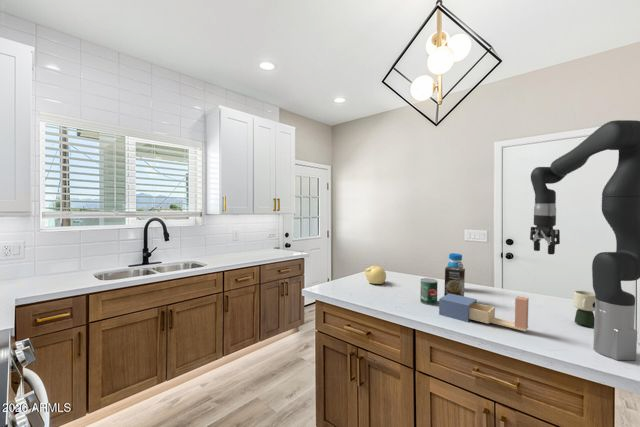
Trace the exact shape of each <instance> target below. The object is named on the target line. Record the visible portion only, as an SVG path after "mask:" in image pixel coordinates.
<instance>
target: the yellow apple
mask: <svg viewBox="0 0 640 427" xmlns="http://www.w3.org/2000/svg"><path fill="white" fill-rule="evenodd" d="M364 275H365V277H366V279H367V282H368V283H370V284H375V285H382V284H385V281H386V279H387V273H386V271H385V269H384V268H382V267H381V266H380V265H371V266H370V267H368V268H366V269H364Z"/></svg>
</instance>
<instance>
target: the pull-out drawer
mask: <svg viewBox="0 0 640 427" xmlns="http://www.w3.org/2000/svg"><path fill="white" fill-rule="evenodd" d="M529 298H530V297H527V296H526V297H525V296H519V295H517V296H516V297H515V300H514V301H515V302H514V304H515V305H514V306H515V308H514V309H515V310H514V321H510V320H506V319H501V318H497V317H495V316H496V313H495V312H496V307H495V306H490V305H485V304H481V303H478V302H477V303H473V304H472V305H471V306H469V319H471V320H473V321H476V322H481V323H485V324H488V325H489V324H490V323H491V324H495V325H499V326H503V327H507V328H511V329H515V330H519V331H522V332H527V330H528V328H529Z"/></svg>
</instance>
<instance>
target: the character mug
mask: <svg viewBox="0 0 640 427" xmlns="http://www.w3.org/2000/svg"><path fill="white" fill-rule="evenodd" d="M573 307H574V308H576V310H575V311H576V312H575V317H574V322H575V323H576V324H580V325H582V326H584V327H585V326H586V327H589V328H590V327H591V328H594V318H595V292H591V291H586V290H575V291H573Z"/></svg>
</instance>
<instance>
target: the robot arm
mask: <svg viewBox="0 0 640 427" xmlns="http://www.w3.org/2000/svg"><path fill="white" fill-rule="evenodd" d="M607 150H609V151H618V160H617V166H616V169H615V170H614V172H613V173H612V174H611V176H610V178H609V179H608V181H607V182H606V184H605V185H604V187H603V189H602V193H601V212H602V215H603V217H604V219H605V221H606V223H607V224H608V225H609V227H610V228H611V229H612V231H613V233H614V235H615V241H616V242H615V244H616V249H615V251H605V252H604V251H602V252H599V253H597V254H596V255H595V256H594V257H593V259H592V265H591V272H592V289H593V291H594V292H593V293H595V311H594V327H593V346H592V347H593V350H594V351H595V352H597V353H598V354H600V355H603V356H604V357H605V356H606V357H608V358H611V359H613V360H615V361H637V348H638V347H637V346H638V330H637V329H635V314H636V313H635V312H636V311H635V310H636V297H635V295H634V294H632V293H631V292H627V291H625V290H623V289H622V282H632V281H637V280H640V120H634V119H633V120H628V119H627V120H625V119H618V120H610V121H607V122H606V123H604V124H602V125H601V126H600V127H598V128H597V129H595V130H594V131H593V133H591V134H590V135H589V136H587V137H586V138H585V139H584V140H583V141H582V142H581V143H579V144H577V146H575V147H574V148H573V149H571V150H570V151H567V152H566V153H565V154H563V155H561V156H559V157H558V158H556V159H554V160H553V161H552V162H551V164H550V166H537V167H535V168H534V169H533V170H532V171H531V174H530V182H531V184H532V189H533V192H534V207H533V225H534V226H531V227H530V234H529V239H530V240H531V241H532V242H533V251H535V252H539V251H541V241H542V240H543V239H544V241H546V243H547V244H548V245H547V254H548V255H555V253H556V246H557V245H560V243H561V242H560V241H561V239H560V229H554V227H555V226H556V225H557V205H556V203H557V202H556V200H557V194H556V193H557V192H556V190H554V189H550V188H548V186H547V185H550V184H552V185H553V184H556V183H559V182H561V181H562V180H563V179H564V178H565V177H566V176H568V175H569V174H570V173H573V172H574V171H576V170H579V169H580V168H582V167H583V166H584V165H585V164H586V163H587V162H588V160H589V159H590V157H592V156H593V155H596V154H598V153H600V152H603V151H607Z"/></svg>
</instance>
